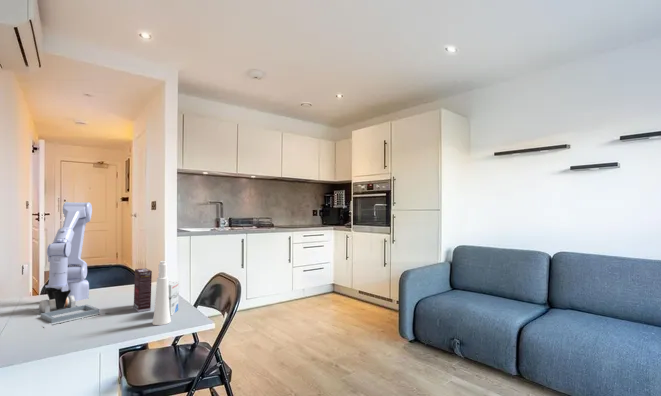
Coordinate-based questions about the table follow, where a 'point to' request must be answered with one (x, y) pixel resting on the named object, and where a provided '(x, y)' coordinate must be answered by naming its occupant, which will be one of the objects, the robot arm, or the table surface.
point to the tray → (49, 318)
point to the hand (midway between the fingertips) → (57, 307)
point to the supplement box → (142, 289)
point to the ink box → (173, 296)
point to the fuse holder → (47, 309)
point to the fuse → (53, 303)
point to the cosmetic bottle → (162, 297)
